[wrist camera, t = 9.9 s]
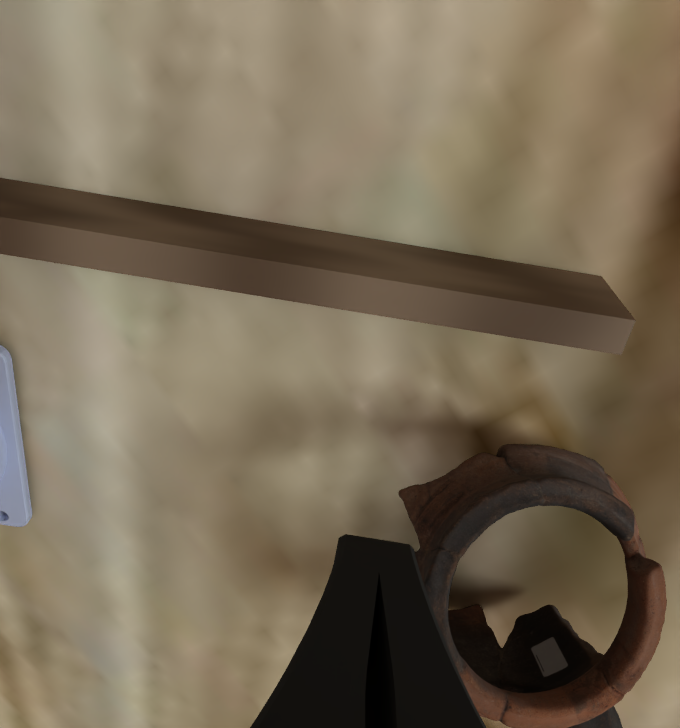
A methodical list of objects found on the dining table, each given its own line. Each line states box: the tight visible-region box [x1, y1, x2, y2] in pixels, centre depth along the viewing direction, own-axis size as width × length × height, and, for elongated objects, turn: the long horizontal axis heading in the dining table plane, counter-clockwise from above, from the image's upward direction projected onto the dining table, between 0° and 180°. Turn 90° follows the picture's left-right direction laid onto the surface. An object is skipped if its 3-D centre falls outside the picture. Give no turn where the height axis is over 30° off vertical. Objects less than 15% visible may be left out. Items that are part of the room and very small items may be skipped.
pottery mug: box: [399, 444, 667, 728], centre depth 22 cm, size 12×10×8 cm
